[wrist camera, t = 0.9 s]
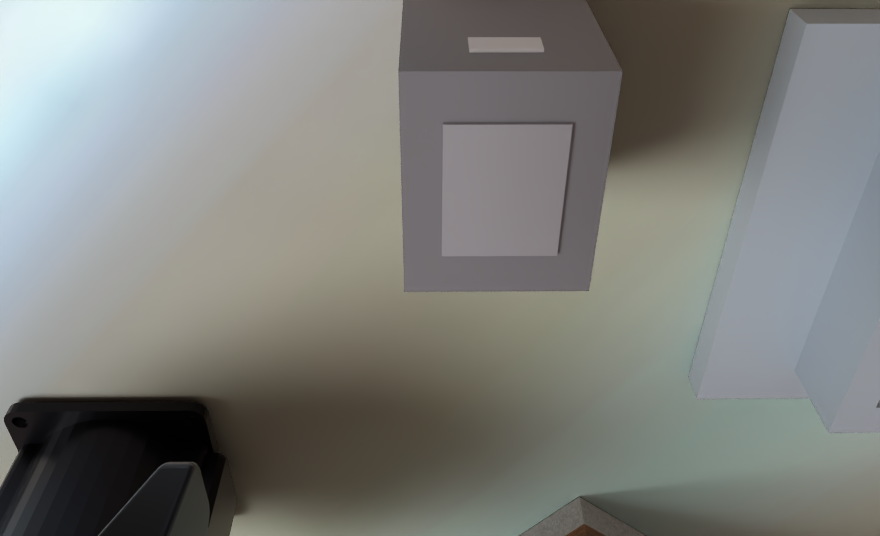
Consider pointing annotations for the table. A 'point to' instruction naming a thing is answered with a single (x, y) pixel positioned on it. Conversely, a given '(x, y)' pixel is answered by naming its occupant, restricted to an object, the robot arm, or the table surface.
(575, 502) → the white box wooden trim
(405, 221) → the brick
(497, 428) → the table surface
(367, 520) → the table surface
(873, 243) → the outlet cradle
